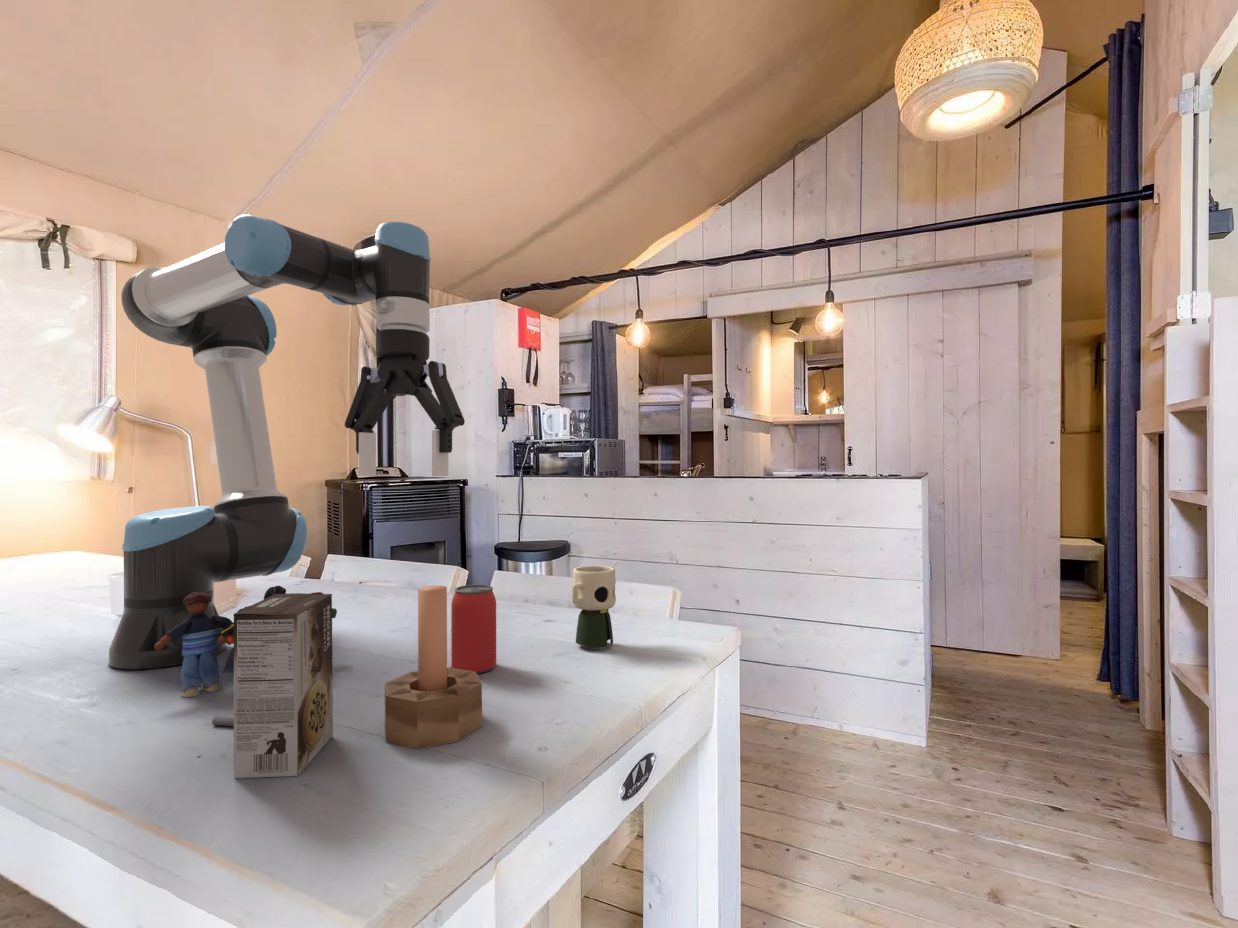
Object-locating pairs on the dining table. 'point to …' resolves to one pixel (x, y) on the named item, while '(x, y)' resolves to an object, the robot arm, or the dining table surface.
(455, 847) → the dining table surface
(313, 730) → the coffee box
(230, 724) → the grey thin rod
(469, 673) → the bead
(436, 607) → the peach rounded rod
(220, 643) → the doll family
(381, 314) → the robot arm
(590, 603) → the character mug
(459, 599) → the beer can
